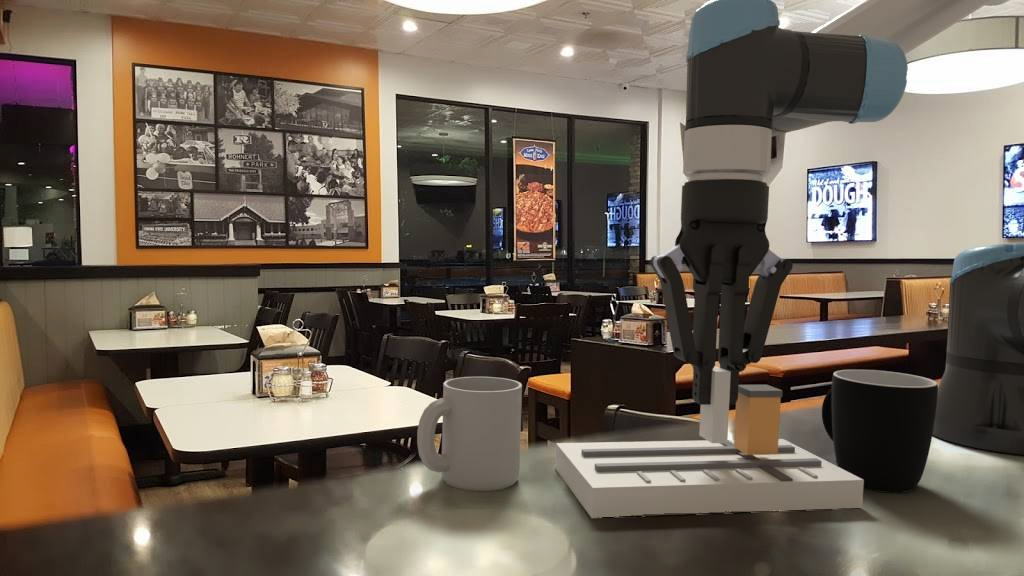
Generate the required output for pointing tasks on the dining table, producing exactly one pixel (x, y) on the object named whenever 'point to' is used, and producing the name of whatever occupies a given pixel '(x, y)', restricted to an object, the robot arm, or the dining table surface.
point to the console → (700, 478)
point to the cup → (474, 433)
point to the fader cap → (757, 419)
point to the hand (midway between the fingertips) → (712, 438)
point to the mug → (881, 426)
